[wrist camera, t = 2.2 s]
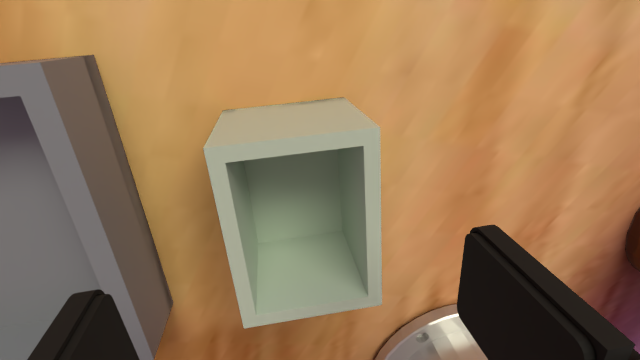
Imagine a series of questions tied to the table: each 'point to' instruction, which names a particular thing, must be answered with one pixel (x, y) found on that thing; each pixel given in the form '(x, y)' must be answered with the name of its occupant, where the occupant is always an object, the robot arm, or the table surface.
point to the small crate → (299, 208)
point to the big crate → (69, 208)
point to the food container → (634, 242)
